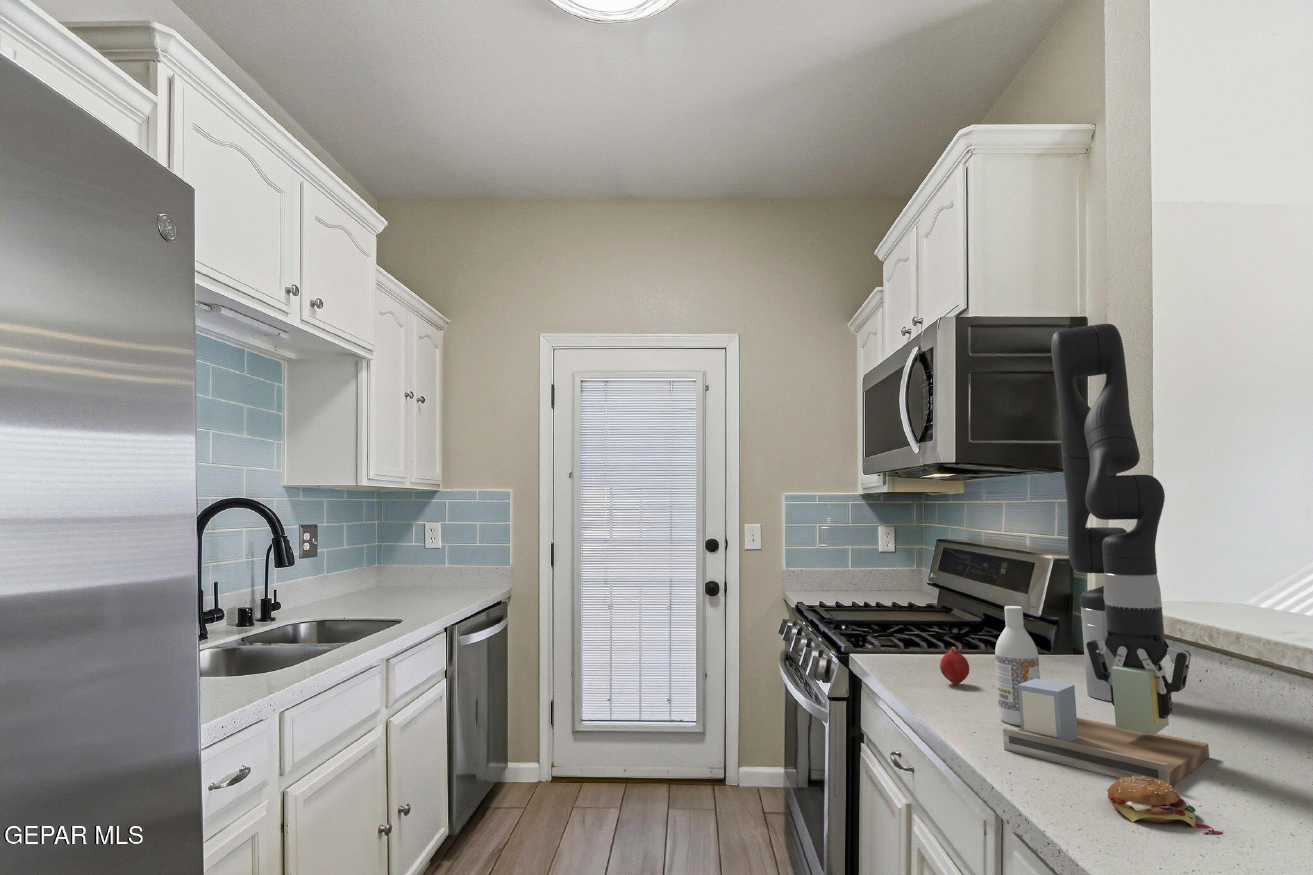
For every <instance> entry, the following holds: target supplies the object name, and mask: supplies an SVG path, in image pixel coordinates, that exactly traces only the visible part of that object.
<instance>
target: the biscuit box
mask: <svg viewBox="0 0 1313 875" xmlns="http://www.w3.org/2000/svg"><path fill="white" fill-rule="evenodd" d="M1075 689H1076V688H1075V684H1070V683H1063V682H1059V681H1058V682H1057V681H1052V680H1046V679H1041V678H1040V679H1032V680H1030V681H1027V682H1024V683H1021V684H1019V685H1018V693H1019V708H1020V723H1021V726H1020V729H1021V731H1023V732H1027V733H1032V734H1036V735H1041V736H1045V737H1050V738H1054V739H1059V740H1063V741H1068V742H1071V741H1073V740H1075V739H1076V738H1078V728H1077V718H1078V717H1077V704H1076V693H1075V691H1076V690H1075Z"/></svg>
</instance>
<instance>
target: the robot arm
mask: <svg viewBox="0 0 1313 875" xmlns="http://www.w3.org/2000/svg"><path fill="white" fill-rule="evenodd" d="M1123 343H1124V342H1123V338H1122V336H1121V333H1120V331H1119V329H1118V328H1117V327H1116V325H1114V324H1112V323H1099V324H1092V325H1085V326H1078V327H1077V326H1076V327H1073V328H1072V327H1071V328H1065V329H1060V330H1057V331H1056V332H1054V333H1053V335H1052V337H1051V346H1050V347H1051V349H1050V350H1051V359H1052V368H1053V375H1054V382H1055V386H1056V392H1057V393H1056V395H1057V402H1058V409H1059V420H1060V421H1059V422H1060V423H1059V424H1060V439H1061V440H1060V441H1061V442H1060V443H1061V444H1060V446H1061V458H1062V459H1061V460H1062V468H1063V478H1064V484H1065V493H1066V507H1067V550H1068V559H1069V563H1070V566H1071V568H1072V569H1073V571H1075V572H1077V573H1082V574H1083V573H1084V574H1104V576H1103V585H1101V586H1100V587H1099V586H1098V587H1097V588H1093V589H1088V590H1085V591H1084V592H1081V594H1080V596H1079V600H1080V614H1081V627H1082V641H1083V652H1084V666H1085V681H1086V693H1087V695H1088V696H1089V697H1092V698H1094V699H1098V700H1103V701H1109V702H1111V704H1112V706H1113V707H1114V697H1113V684H1112V672H1111V668H1112V667H1114V666H1119V667H1123V666H1126V667H1133V668H1140V669H1146V670H1147V671H1152V672H1153V677H1154V678H1155V680H1156V688H1157V691H1158V692H1159V693H1157V701H1158V713H1159V718H1162V719H1166V718H1167V717H1168V718H1169V716H1170V715H1172V713H1173V710H1174V709H1173V701H1172V700H1173V699H1172V693H1179V692H1180V691H1182V690H1183V689H1185V688H1186V683H1187V678H1188V675H1189V674H1188V673H1189V668H1190V663H1191V658H1192V654H1191V652H1190V651H1188V650H1178V649H1175V648H1173V647H1170V646H1169V644H1168V642H1167V641H1166V639H1165V626H1164V616H1163V615H1164V614H1163V604H1162V603H1163V602H1162V592H1161V586H1160V585H1161V584H1160V581H1159V577H1158V569H1157V568H1158V567H1157V558H1156V557H1157V556H1156V555H1157V554H1156V544H1157V543H1156V540H1157V533H1158V530H1159V524H1160V520H1161V516H1162V513H1163V509H1164V504H1165V498H1166V496H1165V495H1166V494H1165V489H1164V487H1163V485H1162V483H1161V482H1160V480H1158V478H1156V477H1155V476H1153V475H1151V474H1124V475H1122V473H1126V472H1127V471H1130V470H1132V469H1135V467H1137V466H1138V464H1139V462H1140V459H1141V455H1140V451H1139V450H1140V449H1139V446H1138V442H1137V439H1136V434H1135V430H1134V427H1133V422H1132V418H1131V412H1130V400H1129V398H1130V397H1129V384H1128V375H1127V366H1126V358H1125V350H1124V344H1123ZM1101 375H1102V376H1103V375H1105V383H1104V386H1103V387H1102V390H1101V392H1100V393H1099V395H1098V397H1097V398H1096V400H1095V401H1094V403H1093V405H1092V407H1090V406H1089V404H1088V403H1087V402H1086V401H1085V399H1084V398H1083V396H1082V395H1081V394H1080V392H1079V390H1078V388H1077V386H1076V383H1075V379H1078V378H1085V377H1086V378H1087V377H1094V376H1101ZM1120 473H1121V475H1120ZM1090 515H1092V516H1093V517H1094V518H1096V519H1097V520H1102V521H1103V520H1104V521H1106V520H1108V521H1115V520H1117V521H1118V520H1136V523H1135V525H1134V527H1133V528H1132V529H1131V530H1129V531H1127V530H1126V529H1125V528H1122V527H1112V526H1111V527H1110V526H1109V527H1104V526H1103V527H1093V526H1092V527H1087V523H1088V520H1089V517H1090ZM1166 656H1168V657H1169V658H1170V660H1169V661H1170V662H1171V664H1172V665H1173V672H1172V678H1171V682H1170V681H1169V679H1168V677H1167V672H1166V670H1165V667H1164V668H1163V666H1162V665H1163V663H1162V661H1163V660H1164V659H1165V657H1166ZM1157 666H1158V668H1159V670H1158V671H1157V670H1156V668H1157Z"/></svg>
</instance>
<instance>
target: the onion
mask: <svg viewBox="0 0 1313 875" xmlns="http://www.w3.org/2000/svg"><path fill="white" fill-rule="evenodd" d="M939 670H940V672H941V673H942V675H943V676H944V677H945V679H947V680H948V681H949V682H950V683H951V684H952V685H954V686H958V685H960V684H961V683H962V682H963V681H965V679H966V678H968V676H969V674H970V664H969V661H968V660H967V658H966V657H965V656H964V655H963V654H962V653H961V652H960V651H958V650H957V647H955V646H952V647H951V648H950V650H949V651H948V652H946V653H944V655H943V656H942V658H941V660H940V663H939Z"/></svg>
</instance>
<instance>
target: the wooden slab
mask: <svg viewBox="0 0 1313 875" xmlns="http://www.w3.org/2000/svg"><path fill="white" fill-rule="evenodd" d="M1077 728H1078V738H1076V739H1075V740H1073V741H1071V742H1068V741H1063V740H1059V739H1054V738H1050V737H1045V736H1041V735H1036V734H1032V733H1027V732H1023V731H1021V728H1019V729H1013V728H1009V727H1003V728H1002V733H1003V734H1002V735H1003V750H1005V751H1008V752H1011V753H1012V752H1013V753H1017V754H1021V755H1025V756H1028V757H1033V758H1036V759H1041V760H1045V761H1049V762H1054V763H1058V764H1062V765H1066V766H1070V767H1074V768H1078V769H1082V770H1086V771H1090V772H1094V773H1098V774H1103V775H1106V776H1110V777H1115V778H1118V779H1120V778H1125V777H1133V776H1134V777H1141V776H1143V777H1145V778H1153V779H1156V780H1159V781H1164V782H1166V783H1168V784H1170V785H1171V786H1172V787H1174V785H1176V784H1178V783H1179V782H1180V781H1181V780H1182V779H1183V778H1185V777H1186V776H1188V775H1189V774H1190V773H1192V772H1193V771H1195V769H1196V768H1197V767H1199V766H1200V765H1201V764H1203V763H1204V762H1205V761H1207V760H1208V759H1209V758H1210V749H1209V748H1210V747H1209V742H1203V741H1197V740H1193V739H1187V738H1183V737H1179V736H1174V735H1173V736H1172V735H1169V734H1162V733H1159V732H1158V733H1156V734H1155V735H1150V734H1145V733H1140V732H1135V731H1130V730H1125V729H1121V728H1116V724H1112V723H1105V722H1102V721H1096V720H1090V719H1085V718H1082V717H1081V718H1080V717H1077ZM1207 758H1208V759H1207ZM1206 759H1207V760H1206ZM1202 762H1203V763H1202ZM1180 779H1181V780H1180ZM1175 783H1176V784H1175Z"/></svg>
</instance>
